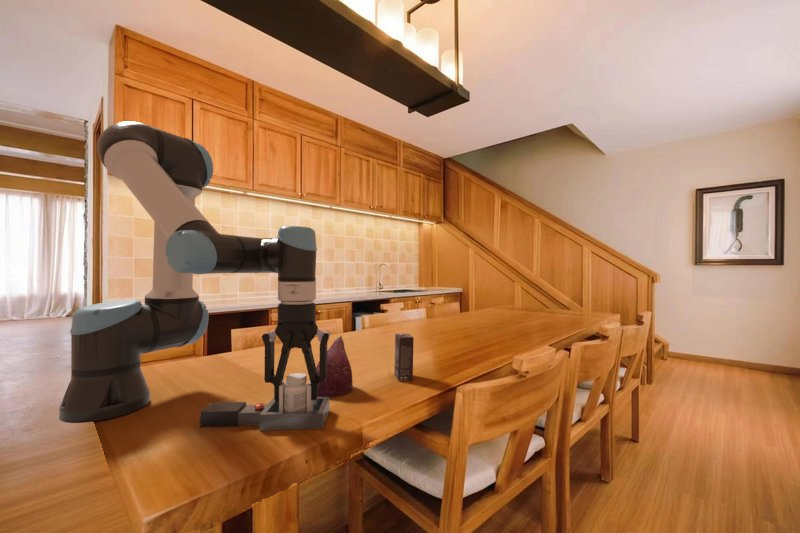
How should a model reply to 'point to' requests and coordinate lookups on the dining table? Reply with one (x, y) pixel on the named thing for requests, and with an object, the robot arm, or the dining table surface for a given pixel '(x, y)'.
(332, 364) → the vegetable
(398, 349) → the box
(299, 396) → the pill bottle
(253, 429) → the dining table surface
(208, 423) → the shallow gray tray
